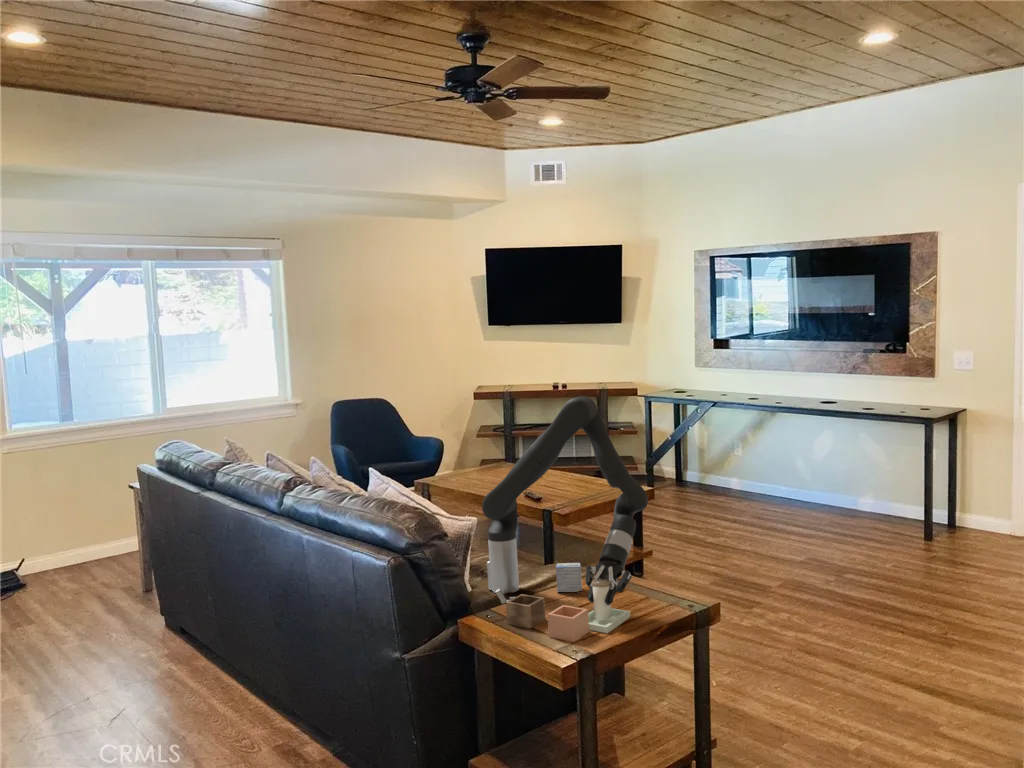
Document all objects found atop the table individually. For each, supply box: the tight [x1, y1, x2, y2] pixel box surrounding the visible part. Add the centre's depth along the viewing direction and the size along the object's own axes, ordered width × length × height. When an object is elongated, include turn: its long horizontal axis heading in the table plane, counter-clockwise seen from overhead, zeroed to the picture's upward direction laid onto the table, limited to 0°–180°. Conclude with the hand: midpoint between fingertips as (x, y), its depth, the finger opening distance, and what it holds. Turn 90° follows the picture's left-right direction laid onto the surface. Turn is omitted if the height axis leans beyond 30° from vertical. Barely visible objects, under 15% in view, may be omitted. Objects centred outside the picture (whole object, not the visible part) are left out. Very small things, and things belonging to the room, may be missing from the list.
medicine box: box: [555, 562, 583, 593], centre depth 247 cm, size 8×4×9 cm, turn 84°
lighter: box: [495, 588, 516, 605], centre depth 227 cm, size 7×2×8 cm, turn 88°
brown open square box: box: [505, 593, 546, 629], centre depth 219 cm, size 8×8×7 cm
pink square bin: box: [547, 604, 590, 643], centre depth 207 cm, size 8×8×7 cm
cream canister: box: [592, 578, 612, 620], centre depth 215 cm, size 5×5×10 cm
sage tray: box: [588, 607, 631, 634], centre depth 215 cm, size 10×14×2 cm
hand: (598, 602), depth 213 cm, fingers closed on cream canister, 4 cm apart
